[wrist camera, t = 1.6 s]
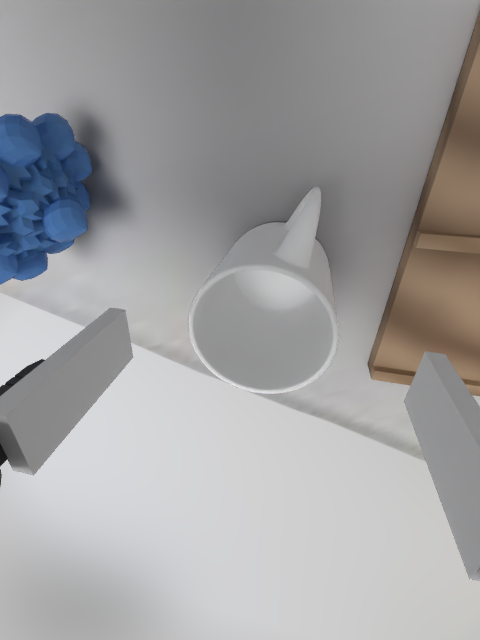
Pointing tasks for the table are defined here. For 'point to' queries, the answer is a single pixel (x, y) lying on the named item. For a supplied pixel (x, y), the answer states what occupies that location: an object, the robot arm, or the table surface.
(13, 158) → the grapes
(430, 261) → the ledge board
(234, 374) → the mug
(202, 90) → the table surface
